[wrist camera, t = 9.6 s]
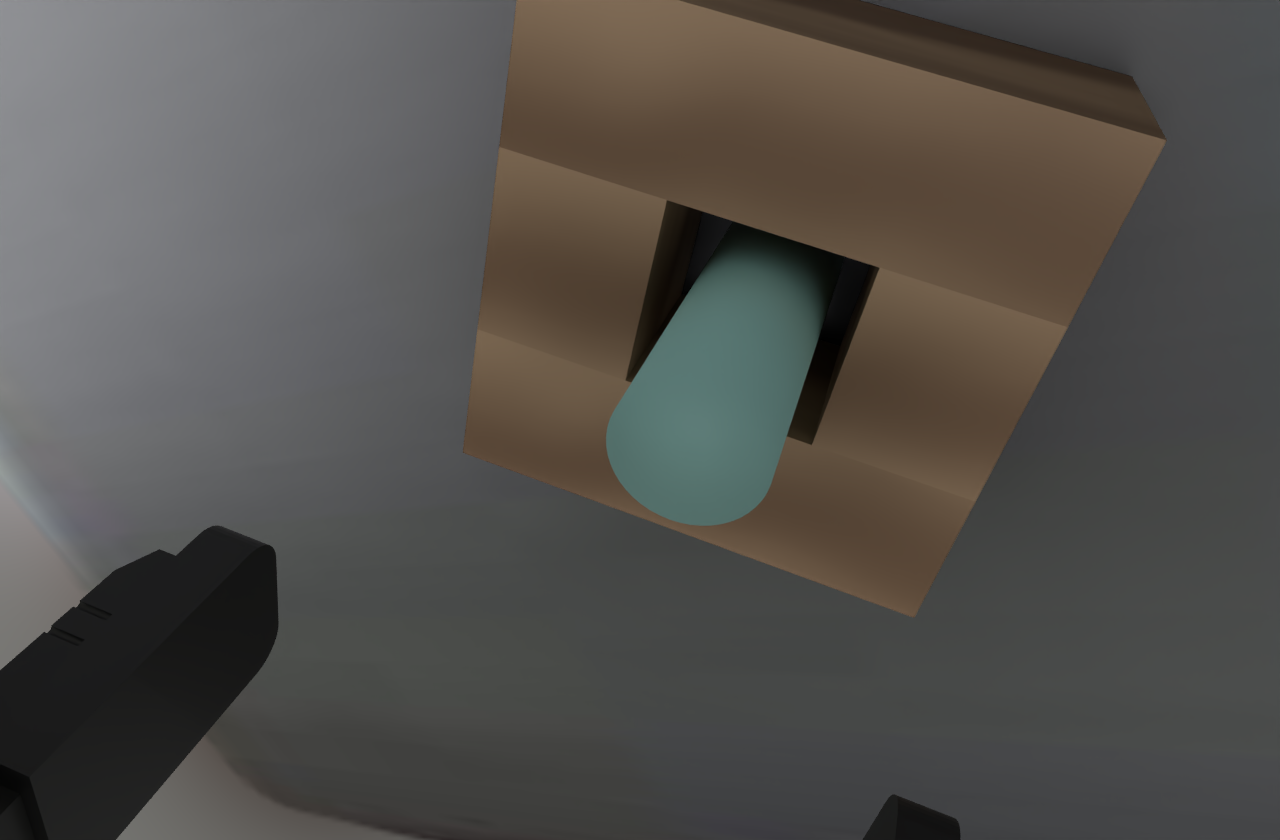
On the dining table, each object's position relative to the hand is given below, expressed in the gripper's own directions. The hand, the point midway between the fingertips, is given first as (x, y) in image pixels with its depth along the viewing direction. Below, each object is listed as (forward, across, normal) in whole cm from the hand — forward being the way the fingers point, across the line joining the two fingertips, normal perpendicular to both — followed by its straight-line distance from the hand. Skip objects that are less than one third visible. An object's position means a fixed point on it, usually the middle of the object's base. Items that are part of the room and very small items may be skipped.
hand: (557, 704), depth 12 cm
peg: (+16, 0, 0) cm, 16 cm away
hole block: (+16, 0, 0) cm, 16 cm away
